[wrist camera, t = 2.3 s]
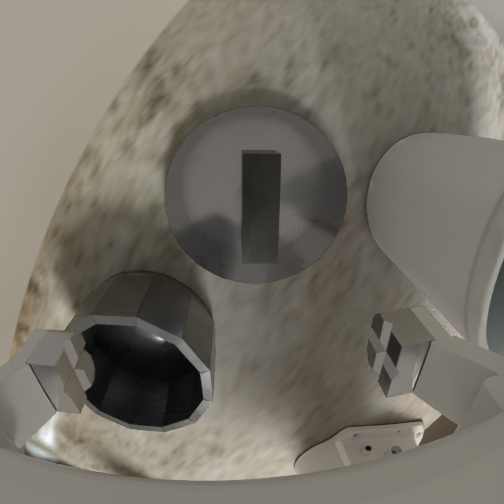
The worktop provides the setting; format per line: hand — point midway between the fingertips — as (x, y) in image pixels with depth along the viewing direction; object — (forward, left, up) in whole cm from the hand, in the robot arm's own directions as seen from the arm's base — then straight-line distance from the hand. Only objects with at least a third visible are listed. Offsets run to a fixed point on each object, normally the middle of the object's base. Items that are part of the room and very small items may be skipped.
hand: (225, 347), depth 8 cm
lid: (-2, 0, -21) cm, 21 cm away
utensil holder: (-19, 0, -21) cm, 28 cm away
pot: (+9, +14, -21) cm, 27 cm away
